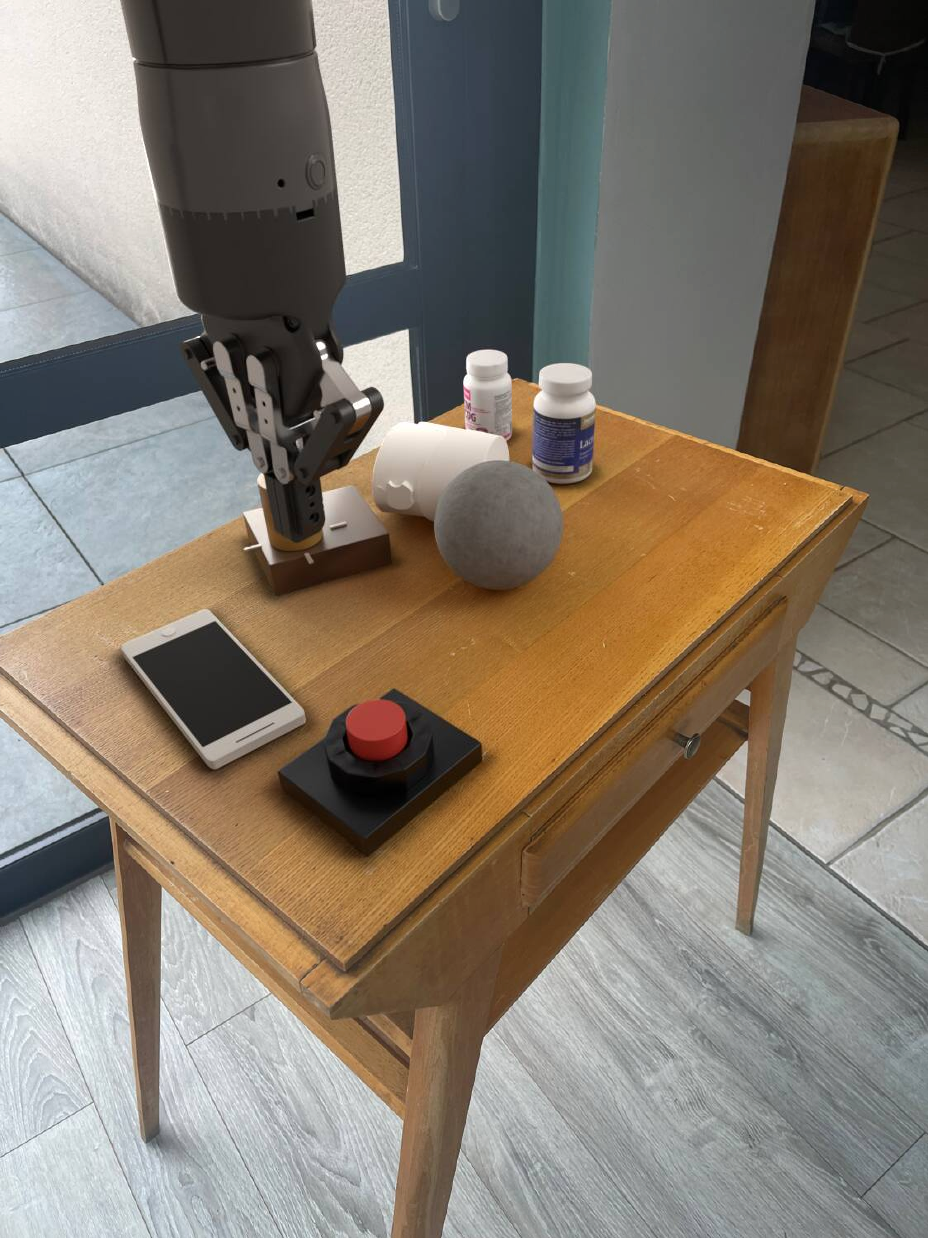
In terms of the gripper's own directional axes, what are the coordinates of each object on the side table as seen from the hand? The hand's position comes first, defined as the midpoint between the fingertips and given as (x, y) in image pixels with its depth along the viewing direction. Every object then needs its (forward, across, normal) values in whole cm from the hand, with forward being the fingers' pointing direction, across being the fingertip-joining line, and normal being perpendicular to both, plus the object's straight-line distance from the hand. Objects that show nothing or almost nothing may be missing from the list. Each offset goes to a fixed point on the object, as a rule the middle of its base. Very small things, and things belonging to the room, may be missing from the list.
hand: (300, 532), depth 49 cm
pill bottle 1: (+18, -23, +40) cm, 49 cm away
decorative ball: (+18, -5, +22) cm, 29 cm away
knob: (+15, -19, +13) cm, 27 cm away
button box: (+17, +3, +1) cm, 18 cm away
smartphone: (+18, -12, -1) cm, 22 cm away
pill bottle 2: (+18, -12, +39) cm, 45 cm away
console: (+18, -20, +15) cm, 30 cm away
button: (+14, +3, +1) cm, 15 cm away
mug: (+18, -16, +28) cm, 37 cm away
